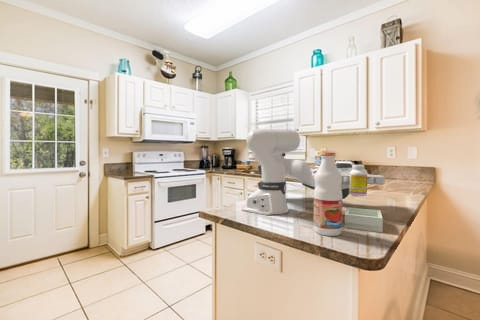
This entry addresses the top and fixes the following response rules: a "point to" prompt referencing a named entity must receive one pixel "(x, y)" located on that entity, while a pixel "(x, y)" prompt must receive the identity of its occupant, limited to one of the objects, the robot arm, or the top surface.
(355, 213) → the sage tray
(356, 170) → the supplement bottle
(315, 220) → the fruit juice
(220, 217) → the top surface
